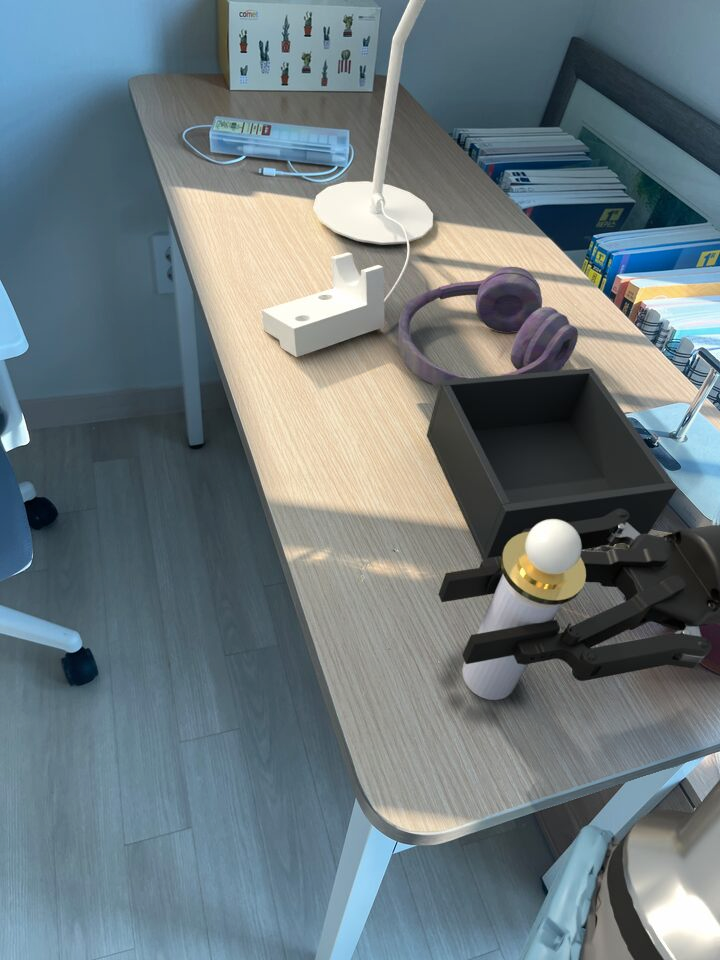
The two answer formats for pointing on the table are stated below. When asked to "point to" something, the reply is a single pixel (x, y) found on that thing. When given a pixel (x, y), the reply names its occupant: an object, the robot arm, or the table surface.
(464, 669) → the perfume bottle
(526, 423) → the bin
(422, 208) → the desk lamp
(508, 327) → the headphones
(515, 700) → the table surface
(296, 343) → the bracket
